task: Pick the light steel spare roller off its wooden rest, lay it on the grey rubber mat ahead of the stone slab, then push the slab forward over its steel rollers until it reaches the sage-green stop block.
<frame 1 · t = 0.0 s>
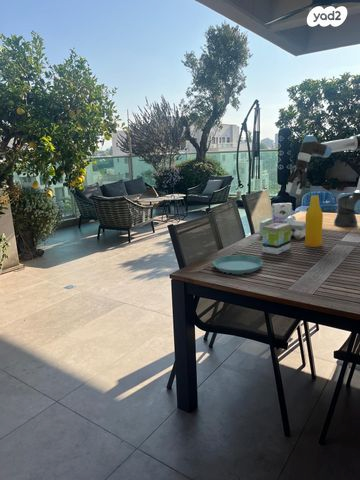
hand: (292, 193, 224), 28 cm above the table, tool tilted 20°, fingers open, 13 cm apart
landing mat: (274, 234, 235), on the table
candy box: (281, 225, 265), on the table
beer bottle: (313, 245, 203), on the table
stone slab: (295, 225, 225), point 8 cm above the table, slide at 0.0 cm
roller rest: (289, 230, 246), on the table
tea box: (276, 250, 197), on the table
stop block: (266, 233, 238), on the table
saucer: (237, 268, 172), on the table
roller bed: (295, 236, 227), on the table
spare roller: (289, 224, 245), point 4 cm above the table, touching roller rest
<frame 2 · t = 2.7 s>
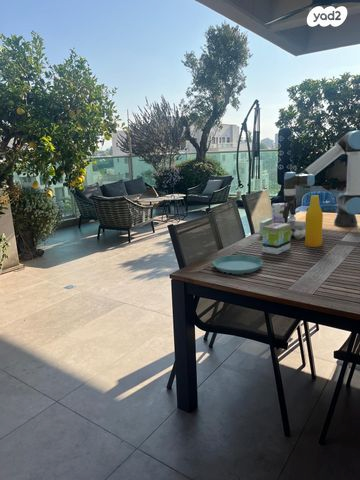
hand: (289, 225, 245), 3 cm above the table, tool pointing down, fingers closed on spare roller, 12 cm apart
spare roller: (289, 224, 245), point 4 cm above the table, touching gripper, roller rest
everything else where it was.
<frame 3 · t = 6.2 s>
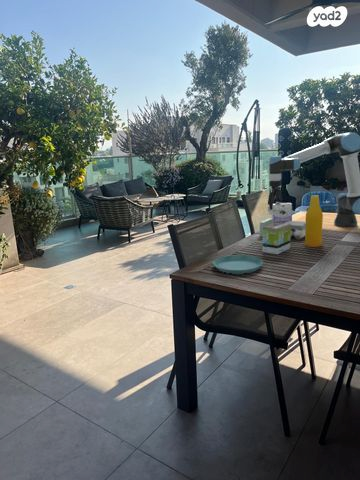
hand: (274, 213, 231), 15 cm above the table, tool pointing down, fingers closed on spare roller, 12 cm apart
spare roller: (274, 211, 231), point 16 cm above the table, touching gripper
everything else where it was.
when the fingers open (1 cm above the table, at t = 9.6 s): spare roller drops 2 cm, resting on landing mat.
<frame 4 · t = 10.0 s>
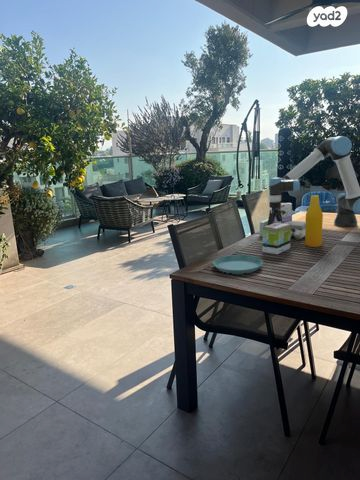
hand: (274, 232, 235), 1 cm above the table, tool pointing down, fingers open, 13 cm apart
spare roller: (274, 234, 235), resting on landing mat
everything else where it was.
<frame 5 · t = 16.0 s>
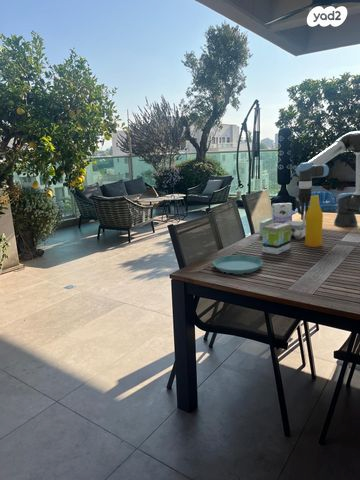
hand: (304, 224, 222), 8 cm above the table, tool pointing down, fingers closed
stone slab: (293, 224, 226), point 7 cm above the table, slide at 1.4 cm, touching gripper
everything else where it was.
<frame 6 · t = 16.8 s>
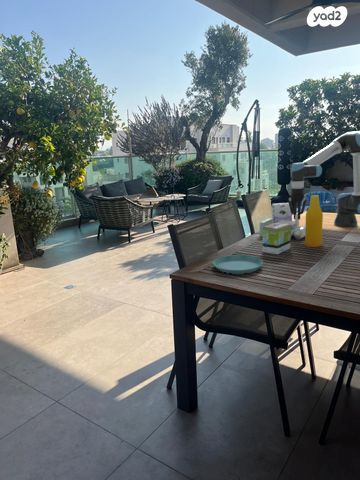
hand: (296, 224, 224), 8 cm above the table, tool pointing down, fingers closed
stone slab: (286, 224, 229), point 7 cm above the table, slide at 6.1 cm, touching gripper
everything else where it was.
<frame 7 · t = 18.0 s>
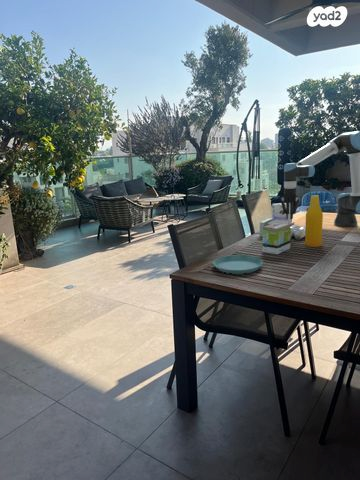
hand: (289, 224, 227), 8 cm above the table, tool pointing down, fingers closed
stone slab: (279, 224, 231), point 8 cm above the table, slide at 10.9 cm, touching gripper
everything else where it was.
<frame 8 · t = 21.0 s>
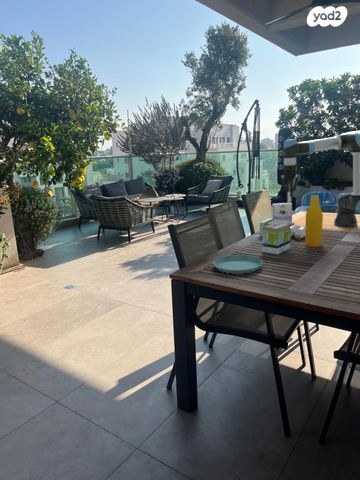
hand: (289, 202, 224), 22 cm above the table, tool pointing down, fingers closed
stone slab: (279, 224, 231), point 8 cm above the table, slide at 11.2 cm
everything else where it was.
at the end: stone slab slide at 11.2 cm; spare roller inside the target area (0.1 cm from its centre), resting on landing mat; the gripper is holding nothing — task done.
